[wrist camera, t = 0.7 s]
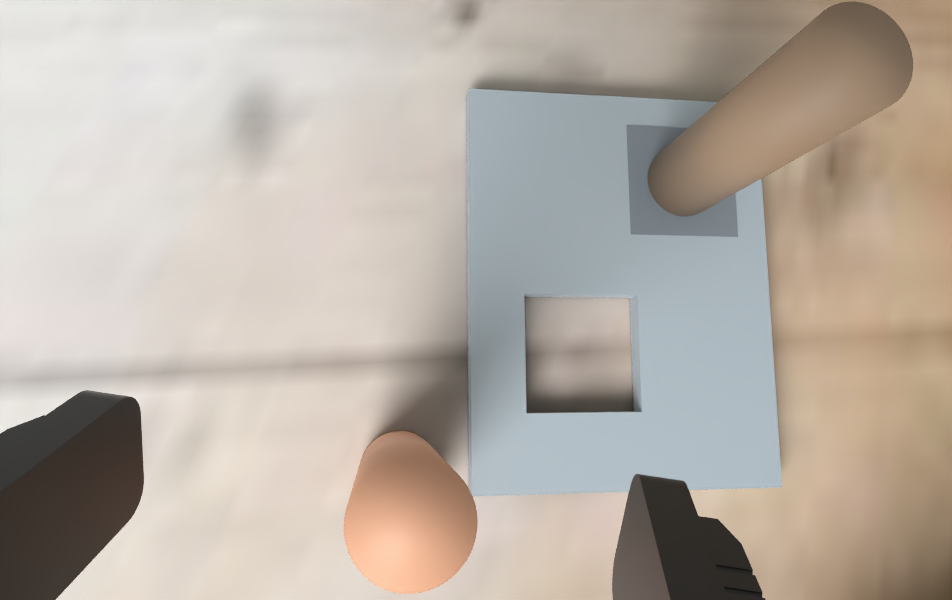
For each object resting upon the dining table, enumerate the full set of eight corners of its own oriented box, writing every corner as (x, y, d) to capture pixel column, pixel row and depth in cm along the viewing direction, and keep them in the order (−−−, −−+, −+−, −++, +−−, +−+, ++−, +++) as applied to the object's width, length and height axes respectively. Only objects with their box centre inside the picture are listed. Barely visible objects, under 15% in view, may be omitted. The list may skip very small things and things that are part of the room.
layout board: (466, 97, 32) (523, -100, 19) (745, 112, 34) (967, -59, 21) (468, 492, 29) (535, 569, 17) (769, 484, 31) (1036, 547, 19)
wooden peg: (359, 431, 29) (345, 457, 17) (438, 430, 30) (477, 454, 18) (358, 513, 29) (342, 596, 17) (438, 510, 29) (477, 590, 17)
